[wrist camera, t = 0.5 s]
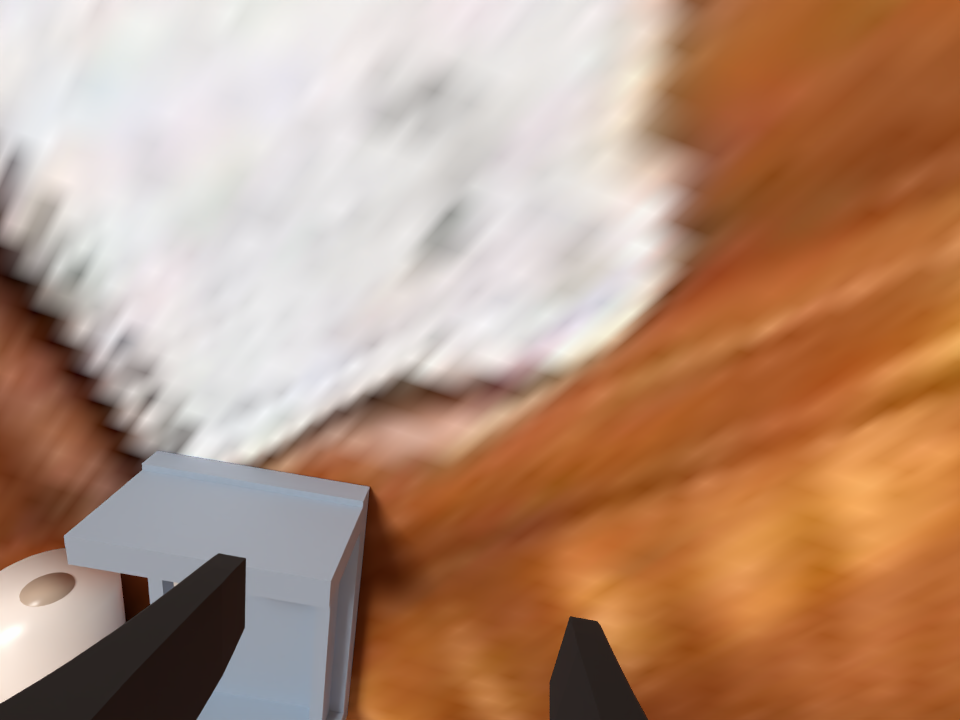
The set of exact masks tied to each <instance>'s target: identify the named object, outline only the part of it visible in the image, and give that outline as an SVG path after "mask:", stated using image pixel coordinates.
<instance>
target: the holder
mask: <svg viewBox="0 0 960 720" xmlns="http://www.w3.org/2000/svg"><path fill="white" fill-rule="evenodd" d="M369 489H370V487H368V486H362V485H356V484H350V483H344V482H338V481H332V480H326V479H320V478H315V477H309V476H303V475H297V474H291V473H285V472H279V471H273V470H267V469H261V468H256V467H250V466H244V465H238V464H232V463H226V462H220V461H214V460H208V459H203V458H197V457H191V456H185V455H179V454H173V453H167V452H161V451H157V452H156V453H154V454H153V455H152V456H151V457H149V458H148V459H147V460H146V461H145V462H143V463H142V471H141V472H140V473H138V474H137V475H136V476H135V477H134V478H132V479H131V480H130V481H129V482H128V483H126V484H125V485H124V486H123V487H122V488H120V489H119V490H118V491H117V492H116V493H114V494H113V495H112V496H111V497H110V498H109V499H107V500H106V501H105V502H104V503H103V504H101V505H100V506H99V507H98V508H97V509H95V510H94V511H93V512H92V513H91V514H89V515H88V516H87V517H86V518H85V519H84V520H82V521H81V522H80V523H79V524H78V525H76V526H75V527H74V528H73V529H72V530H70V531H69V532H68V533H67V534H66V535H64V541H65V547H66V553H67V560H68V564H70V565H75V566H81V567H87V568H93V569H99V570H105V571H111V572H117V573H123V574H129V575H134V576H140V577H146V578H148V586H149V597H150V604H152V603H153V602H155V601H156V600H157V599H159V598H160V597H161V596H163V595H164V594H165V593H167V592H168V591H169V590H171V589H172V588H173V587H174V586H176V585H177V584H178V583H180V582H181V581H182V580H184V579H185V578H186V577H187V576H189V575H190V574H191V573H193V572H194V571H195V570H197V569H198V568H199V567H200V566H202V565H203V564H204V563H206V562H207V561H208V560H210V559H211V558H212V557H214V556H215V555H217V554H218V553H221V554H226V555H232V556H237V557H243V558H246V595H245V629H244V631H243V633H242V635H241V638H240V640H239V642H238V644H237V646H236V649H235V651H234V653H233V655H232V657H231V659H230V661H229V663H228V666H227V668H226V670H225V672H224V674H223V676H222V678H221V679H220V681H219V683H218V685H217V686H216V688H215V690H214V691H213V693H212V695H211V696H210V698H209V700H208V701H207V703H206V705H205V706H204V708H203V710H202V712H201V713H200V715H199V717H198V718H197V720H346V717H347V713H348V703H349V693H350V682H351V672H352V662H353V652H354V642H355V632H356V621H357V611H358V601H359V591H360V581H361V571H362V560H363V550H364V540H365V530H366V520H367V510H368V499H369Z"/></svg>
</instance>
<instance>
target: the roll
mask: <svg viewBox="0 0 960 720" xmlns="http://www.w3.org/2000/svg"><path fill="white" fill-rule="evenodd" d="M124 623H126V619H125V610H124V601H123V592H122V583H121V574H120V573H117V572H111V571H105V570H99V569H93V568H87V567H81V566H75V565H70V564H68V560H67V553H66V548H62V549H56V550H51V551H47V552H43V553H39V554H36V555H33V556H30V557H28V558H25V559H23V560H21V561H18V562H16V563H14V564H12V565H10V566H8V567H7V568H5V569H3V570H2V571H0V703H2V702H4V701H5V700H7V699H9V698H10V697H12V696H14V695H15V694H17V693H19V692H21V691H22V690H24V689H26V688H27V687H29V686H31V685H32V684H34V683H36V682H37V681H39V680H40V679H42V678H44V677H45V676H47V675H48V674H50V673H52V672H53V671H55V670H56V669H58V668H59V667H61V666H63V665H64V664H66V663H67V662H69V661H70V660H72V659H73V658H75V657H76V656H78V655H79V654H81V653H82V652H84V651H85V650H87V649H88V648H90V647H91V646H93V645H94V644H96V643H97V642H98V641H100V640H101V639H103V638H104V637H106V636H107V635H109V634H110V633H112V632H113V631H115V630H116V629H117V628H119V627H120V626H122V625H123V624H124Z"/></svg>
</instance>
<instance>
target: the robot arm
mask: <svg viewBox="0 0 960 720" xmlns="http://www.w3.org/2000/svg"><path fill="white" fill-rule="evenodd" d="M245 595H246V558H243V557H237V556H232V555H226V554H221V553H218V554H217V555H215V556H214V557H212V558H211V559H210V560H208V561H207V562H206V563H204V564H203V565H202V566H200V567H199V568H198V569H197V570H195V571H194V572H193V573H191V574H190V575H189V576H187V577H186V578H185V579H184V580H182V581H181V582H180V583H178V584H177V585H176V586H174V587H173V588H172V589H171V590H169V591H168V592H167V593H165V594H164V595H163V596H161V597H160V598H159V599H157V600H156V601H155V602H153V603H152V604H150V605H149V606H148V607H146V608H145V609H144V610H142V611H141V612H140V613H138V614H137V615H135V616H134V617H133V618H131V619H130V620H129V621H127V622H126V623H124V624H123V625H122V626H120V627H119V628H117V629H116V630H115V631H113V632H112V633H110V634H109V635H107V636H106V637H104V638H103V639H101V640H100V641H98V642H97V643H96V644H94V645H93V646H91V647H90V648H88V649H87V650H85V651H84V652H82V653H81V654H79V655H78V656H76V657H75V658H73V659H72V660H70V661H69V662H67V663H66V664H64V665H63V666H61V667H59V668H58V669H56V670H55V671H53V672H52V673H50V674H48V675H47V676H45V677H44V678H42V679H40V680H39V681H37V682H36V683H34V684H32V685H31V686H29V687H27V688H26V689H24V690H22V691H21V692H19V693H17V694H15V695H14V696H12V697H10V698H9V699H7V700H5V701H4V702H2V703H0V720H197V718H198V717H199V715H200V713H201V712H202V710H203V708H204V706H205V705H206V703H207V701H208V700H209V698H210V696H211V695H212V693H213V691H214V690H215V688H216V686H217V685H218V683H219V681H220V679H221V678H222V676H223V674H224V672H225V670H226V668H227V666H228V663H229V661H230V659H231V657H232V655H233V653H234V651H235V649H236V646H237V644H238V642H239V640H240V638H241V635H242V633H243V631H244V629H245ZM550 720H648V719H647V717H646V715H645V713H644V711H643V710H642V708H641V706H640V704H639V702H638V700H637V699H636V697H635V695H634V693H633V691H632V689H631V687H630V685H629V683H628V681H627V679H626V677H625V675H624V673H623V671H622V669H621V667H620V665H619V663H618V661H617V659H616V657H615V655H614V653H613V651H612V649H611V647H610V645H609V643H608V641H607V638H606V636H605V634H604V632H603V630H602V628H601V626H600V624H599V623H598V621H593V620H587V619H582V618H576V617H571V616H570V618H569V621H568V625H567V628H566V631H565V634H564V638H563V641H562V644H561V647H560V651H559V654H558V657H557V660H556V664H555V667H554V670H553V673H552V677H551V680H550Z"/></svg>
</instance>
